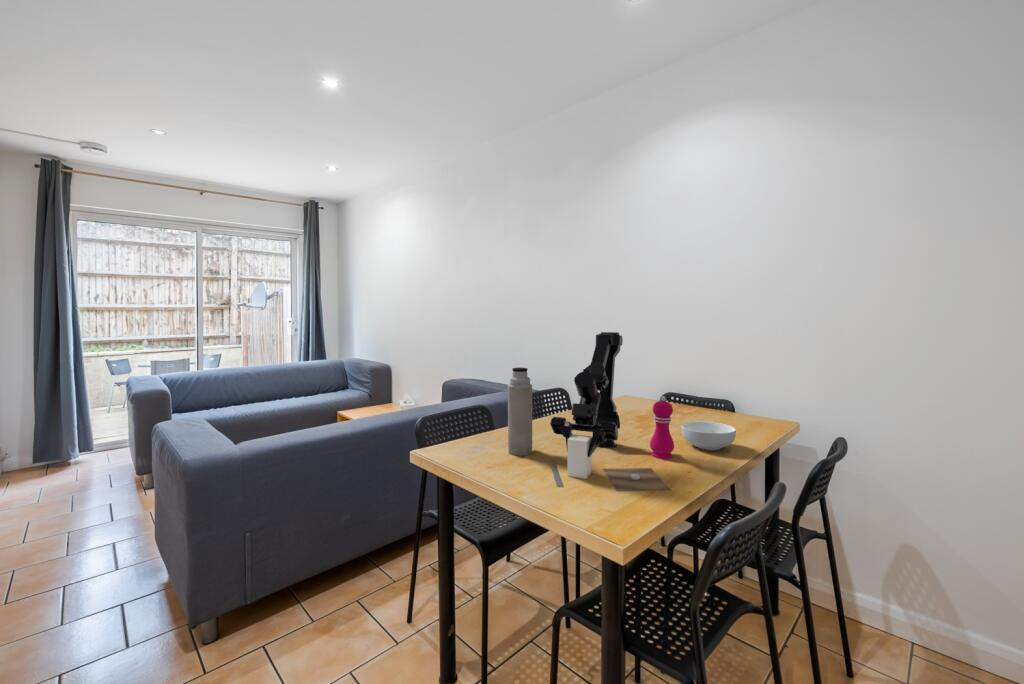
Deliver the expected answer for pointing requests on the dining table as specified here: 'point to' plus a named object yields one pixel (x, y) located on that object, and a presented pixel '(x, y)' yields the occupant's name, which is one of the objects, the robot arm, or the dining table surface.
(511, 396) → the thermos bottle
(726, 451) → the dining table surface
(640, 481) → the board
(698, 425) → the cereal bowl
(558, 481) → the flat grey strip
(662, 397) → the pepper mill
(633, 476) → the small grey round piece
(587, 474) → the cover
